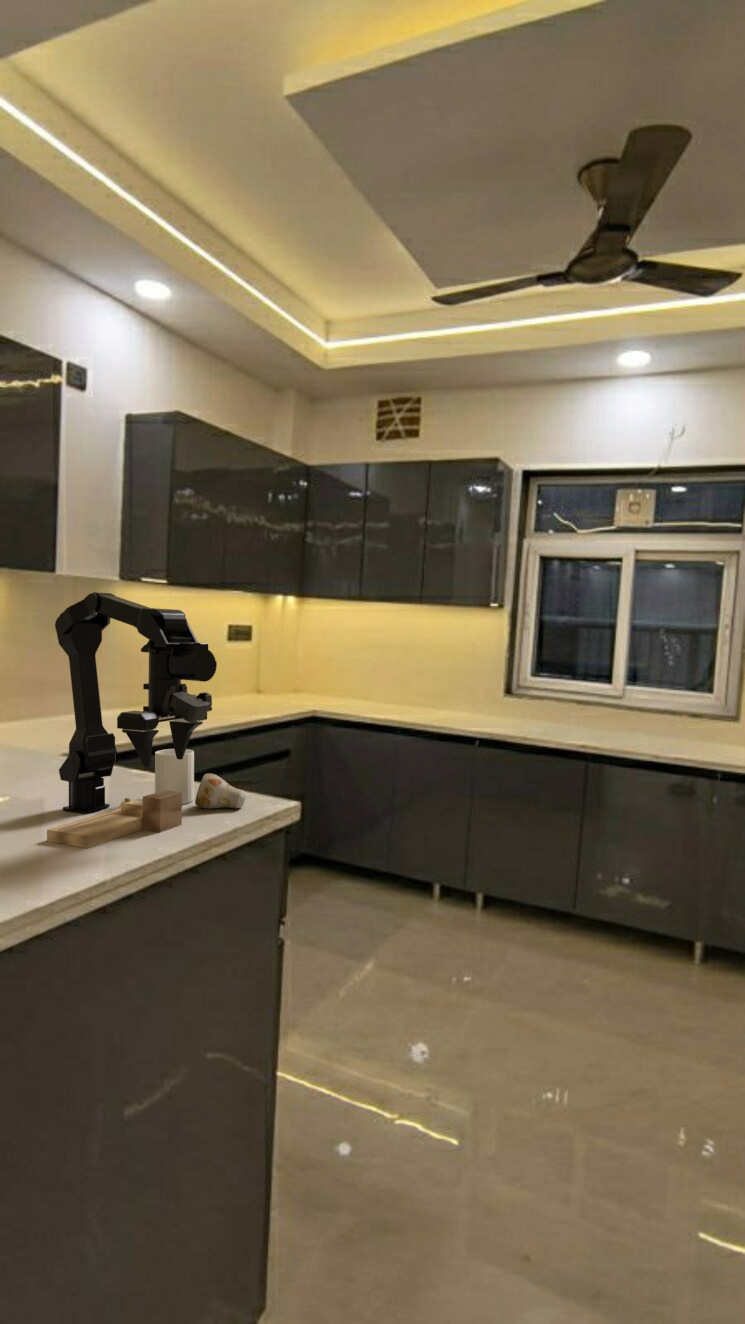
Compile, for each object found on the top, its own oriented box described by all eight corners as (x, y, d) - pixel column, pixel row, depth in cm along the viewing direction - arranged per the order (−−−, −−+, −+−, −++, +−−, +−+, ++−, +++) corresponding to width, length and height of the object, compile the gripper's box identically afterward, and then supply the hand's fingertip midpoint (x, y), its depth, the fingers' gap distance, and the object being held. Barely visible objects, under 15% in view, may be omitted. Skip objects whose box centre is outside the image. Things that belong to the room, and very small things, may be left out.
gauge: (113, 825, 138) (113, 792, 138) (136, 817, 143) (136, 786, 143) (160, 832, 133) (160, 799, 133) (181, 824, 139) (181, 792, 139)
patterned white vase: (246, 813, 149) (221, 772, 147) (205, 832, 151) (180, 791, 149) (255, 796, 156) (231, 756, 154) (216, 814, 158) (192, 775, 156)
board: (46, 841, 127) (46, 829, 127) (136, 812, 147) (136, 802, 147) (87, 848, 123) (87, 835, 123) (173, 818, 143) (173, 807, 143)
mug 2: (193, 805, 154) (193, 754, 154) (153, 806, 153) (153, 755, 152) (194, 792, 166) (194, 745, 166) (157, 793, 164) (157, 746, 164)
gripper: (167, 684, 124) (166, 777, 125) (231, 677, 141) (230, 759, 142) (115, 680, 129) (114, 770, 129) (183, 674, 146) (182, 754, 147)
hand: (163, 763), depth 137 cm, fingers open, 9 cm apart
